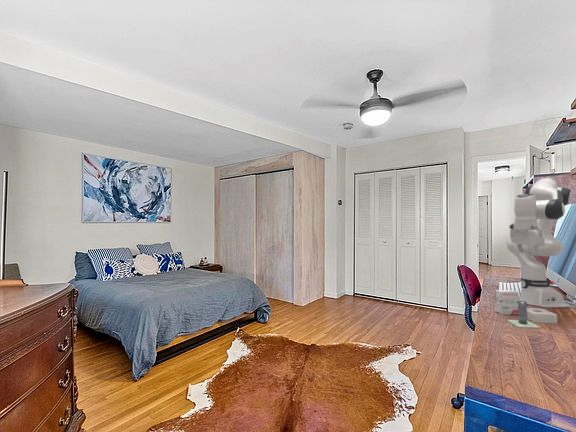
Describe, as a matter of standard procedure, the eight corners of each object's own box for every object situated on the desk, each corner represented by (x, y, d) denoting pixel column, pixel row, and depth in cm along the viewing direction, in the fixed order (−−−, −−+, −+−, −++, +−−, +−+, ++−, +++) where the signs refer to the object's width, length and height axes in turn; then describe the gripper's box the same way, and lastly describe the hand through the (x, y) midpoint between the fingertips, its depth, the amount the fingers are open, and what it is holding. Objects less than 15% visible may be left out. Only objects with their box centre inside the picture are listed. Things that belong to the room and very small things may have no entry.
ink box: (513, 312, 153) (512, 289, 153) (519, 315, 148) (519, 292, 149) (495, 311, 154) (495, 289, 154) (501, 314, 149) (501, 291, 149)
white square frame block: (541, 316, 146) (541, 308, 146) (557, 323, 136) (557, 314, 136) (520, 315, 147) (519, 307, 148) (533, 322, 138) (533, 313, 138)
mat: (527, 321, 138) (527, 320, 138) (540, 328, 130) (540, 327, 130) (506, 321, 140) (506, 319, 140) (518, 327, 131) (518, 326, 131)
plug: (524, 322, 136) (523, 300, 136) (529, 324, 133) (528, 302, 133) (516, 321, 137) (516, 300, 137) (521, 324, 133) (520, 302, 134)
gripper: (548, 226, 135) (549, 256, 135) (520, 225, 155) (521, 251, 155) (533, 226, 136) (534, 256, 136) (507, 225, 156) (508, 251, 156)
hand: (527, 253), depth 146 cm, fingers open, 8 cm apart
